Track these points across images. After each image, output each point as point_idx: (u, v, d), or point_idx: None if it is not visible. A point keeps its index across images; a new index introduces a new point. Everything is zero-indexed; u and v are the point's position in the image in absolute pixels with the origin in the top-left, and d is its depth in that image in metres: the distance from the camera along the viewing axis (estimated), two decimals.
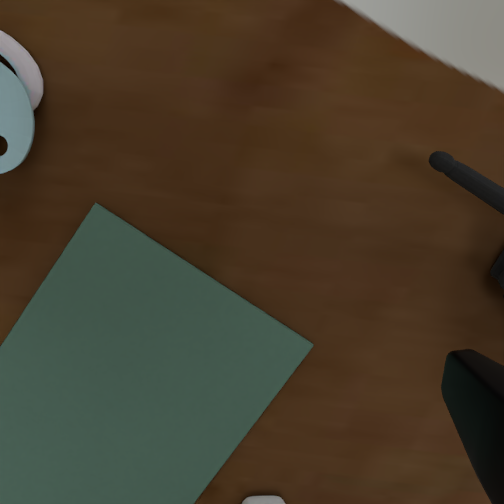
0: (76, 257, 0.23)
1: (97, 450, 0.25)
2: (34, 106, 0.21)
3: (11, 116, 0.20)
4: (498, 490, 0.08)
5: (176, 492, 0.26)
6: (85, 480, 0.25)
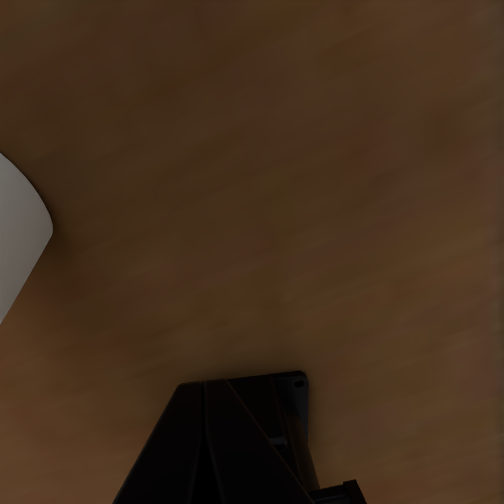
0: None
1: None
2: None
3: None
4: None
5: None
6: None
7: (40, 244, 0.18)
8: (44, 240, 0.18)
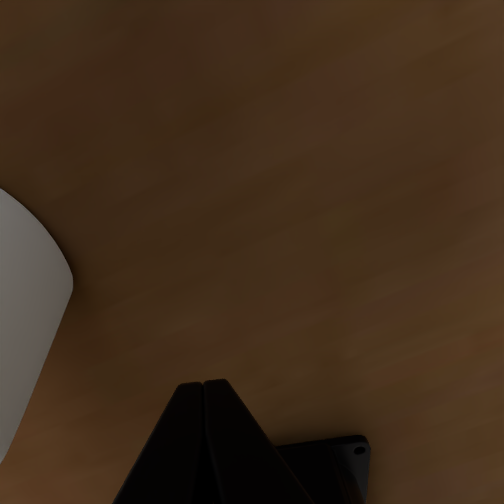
0: None
1: None
2: None
3: None
4: None
5: None
6: None
7: (59, 309, 0.14)
8: (64, 302, 0.14)
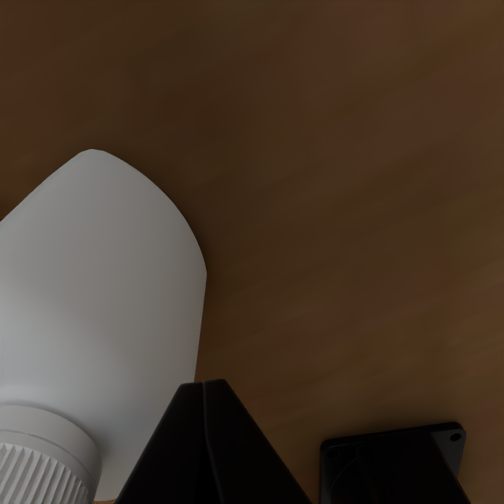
0: None
1: None
2: None
3: None
4: None
5: None
6: None
7: (203, 301, 0.14)
8: (204, 294, 0.15)
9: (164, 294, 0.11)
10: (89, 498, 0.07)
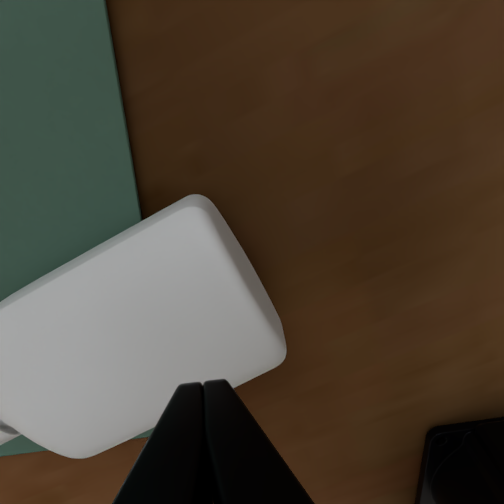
0: None
1: None
2: None
3: None
4: None
5: (103, 232, 0.15)
6: None
7: None
8: (237, 382, 0.14)
9: (111, 385, 0.13)
10: None
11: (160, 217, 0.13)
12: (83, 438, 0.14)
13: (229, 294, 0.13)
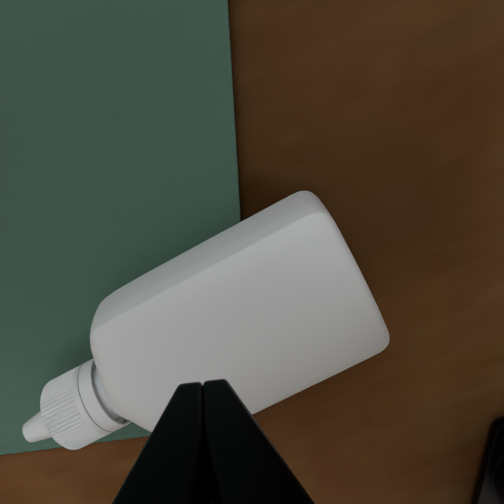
0: None
1: (43, 235, 0.15)
2: None
3: None
4: None
5: (202, 221, 0.15)
6: (70, 285, 0.16)
7: (329, 375, 0.15)
8: (344, 369, 0.15)
9: (234, 381, 0.14)
10: (103, 434, 0.15)
11: (284, 222, 0.13)
12: None
13: (354, 296, 0.13)
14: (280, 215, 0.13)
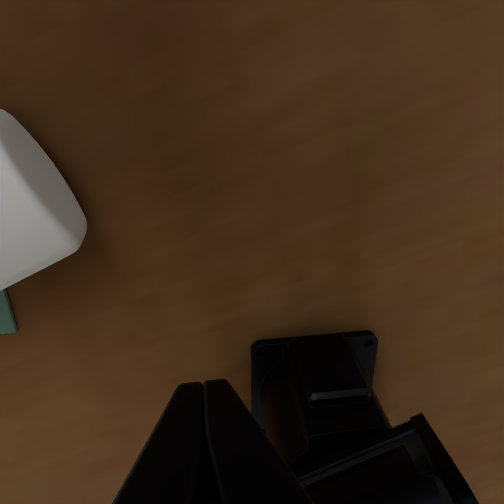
0: None
1: None
2: None
3: None
4: None
5: None
6: None
7: (25, 271, 0.17)
8: (38, 266, 0.17)
9: None
10: None
11: None
12: None
13: (13, 193, 0.16)
14: None
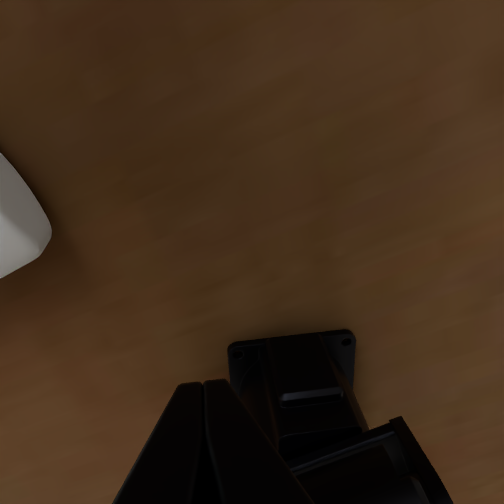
0: None
1: None
2: None
3: None
4: None
5: None
6: None
7: None
8: (0, 272, 0.18)
9: None
10: None
11: None
12: None
13: None
14: None
